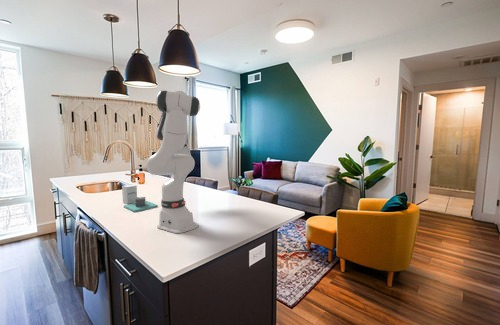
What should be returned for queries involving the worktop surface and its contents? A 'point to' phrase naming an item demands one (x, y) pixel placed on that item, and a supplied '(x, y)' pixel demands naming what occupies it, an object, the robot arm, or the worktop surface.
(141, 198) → the knob
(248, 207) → the worktop surface
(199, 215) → the worktop surface
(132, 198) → the supplement box
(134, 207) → the board
